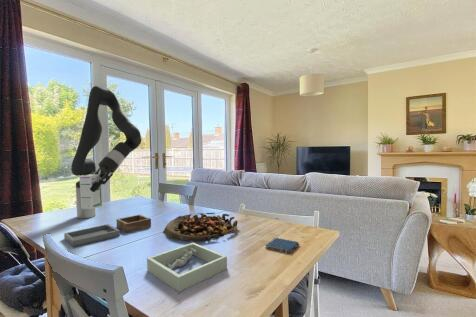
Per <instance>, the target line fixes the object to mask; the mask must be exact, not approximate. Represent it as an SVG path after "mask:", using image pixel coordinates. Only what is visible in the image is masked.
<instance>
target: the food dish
mask: <svg viewBox="0 0 476 317" xmlns="http://www.w3.org/2000/svg"><path fill="white" fill-rule="evenodd" d="M214 214H216V212H206V213H204V212H202V213H199V212H198V213H197V214H191V213H190V214H185V215H179V216H176V217H175V218H173V219H172V220H170V221H169V222H168V223H167V224H166V226H165V227H164V229H163V231H162V234H164V235H165V236H166V237H168V238H169V239H173V240H177V241H185V240H187V241H186V242H189V241H190V242H191V241H193V242H203V241H210V240H212V239H219V238H221V237H223V236H225V235H227V234H230V233H235V232H237V231H238V223H239V222H238V220H234V219H235V218H236V217H234V216H231V217H229V216H230V214H228V213H222V215H219V214H218V215H214ZM198 215H200V216H198ZM207 215H208V216H207ZM211 215H212V216H211ZM227 217H229V218H227ZM233 220H234V221H233ZM232 221H233V223H232Z"/></svg>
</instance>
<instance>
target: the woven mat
mask: <svg viewBox="0 0 476 317" xmlns="http://www.w3.org/2000/svg"><path fill="white" fill-rule="evenodd" d="M297 246H298V247H299V246H300V243H299V241H296V240H293V241H292V240H290V239H286V238H279V237H276V238H273V239H272V240H270V241H268V242H267V244H265V247H264V248H265V249H266V250H269V249H271V251H275V250H277V251H279V253H283V252H285V254H289V253H291V252H292V253H293V252H294V251H295V250H296V249H297V248H298V247H297ZM295 248H296V249H295ZM293 250H294V251H293ZM287 252H288V253H287ZM292 253H291V254H292Z"/></svg>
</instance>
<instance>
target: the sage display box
mask: <svg viewBox="0 0 476 317" xmlns="http://www.w3.org/2000/svg"><path fill="white" fill-rule="evenodd" d="M190 248H193V249H195V250H196V251H197V252H196V253H195V254H194V255H193V256H195V257H196V258H199V259H200V260H201V259H202V260H203V261H205V262H207V263H204V264H202V265H200V266H199V265H198V266H197V267H195V268H193V269H190V270H188V271H185V272H183V273H181V274H179V273H177V272H176V271H174V270H173V269H172V270H171V269H169V268H170V267H168V264H170V265H171V264H173V263H174V262H175V261H174V260H175V259H181V258H182V257H183V256H184V255H185V254H186V251H184V250H182V249H185V250H187V251H189V252H191V251H190V250H191V249H190ZM146 265H147V266H146V269H147V271H148V272H149V273H150V274H152V275H154V276H155V277H156V278H158V279H160V280H161V281H162V282H163V283H165V284H166V285H168V286H170V287H171V288H173V289H174V290H175V291H177V292H178V293H179V292H181V291H183V290H186V289H188V288H190V287H192V286H194V285H197V284H199V283H201V282H202V281H204V280H207V279H209V278H211V277H213V276H215V275H217V274H219V273H222V272H223V271H225V270H227V269H228V257H227V256H226V255H224V254H222V253H219V252H217V251H215V250H212V249H210V248H207V247H205V246H203V245H200V244H197V243H196V242H190V243H187V244H184V245H182V246H178V247H176V248H173V249H169V250H167V251H164V252H161V253H158V254H154V255H152V256H149V257H147V258H146Z"/></svg>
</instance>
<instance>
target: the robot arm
mask: <svg viewBox="0 0 476 317" xmlns="http://www.w3.org/2000/svg"><path fill="white" fill-rule="evenodd" d="M116 96H117V95H116V94H115V92H114V91H113V90H111V89H110V88H107V87H101V86H99V85H98V86H97V85H95V86H93V87H92V88H91V89H90V92H89V95H88V102H87V108H86V109H87V110H86V115H85V119H84V122H83V126H82V129H81V132H80V133H81V134H80V138H79V142H78V146H77V149H76V151H75V154H74V157H73V159H72V163H71V167H70V168H71V173H72V174H73V176H77V177H79V176H83V175H89V174H98V176H97V181H96V182H97V183H96V182H95V183H94V184H93V186H92V187H91V188H90V190H91V191H92V192H95V191H96V190H97V188H98V187H99V186H100V185H101V186H102V185H106V184H107V182H108V181H109V180H111V177H112V176H113V175H114V173H115V172H116V171H117V170H118V169H119V168H120V166H121V165H122V163H123V162H124V160H126V158H127V157H128V156H129V155H130V153H132V152H133V151H134V150H136V149H138V147H139V146H140V145H141V142H142V136H141V135H142V134H141V131H140V130H139V128H138V127H137V126H136V125H135V124H134V123H132V121H131V120H130V119H129V117H128V116H127V115H126V113H125V111H124V110H123V109H122V106H121V104H120V102H119V100H118V98H117V97H116ZM100 106H107V107H108V108H109V109H110V110H111V112H112V113H111V118H112V122H113V123H114V125H115V127H117V129H118V130H119V131H120V132H121V133H123V134H124V136H125V139H126V140H125V141H124V142H123V141H121V142H118V143H117V144H116V145H114V147H113V148H112V149H111V150H110V151H109V152H108V153H107V154H106V155H105V156H104V157H103V158H102V159H101V161H99V163H98V167H99V168H98V169H97V166H96V163H95V161H94V159H92V158H87V157H88V154H89V153H90V152H91V151H92V149H94V147H95V146H96V145H97V144H98V143H99V142H100V140H101V135H102V132H103V126H102V123H101V120H100V118H99V117H100V116H99V108H100ZM75 197H76V198H75V199H76V218H77V219H90V218H93V217H96V214H97V213H96V212H97V211H96V208H94V209H82V208H81V194H80V180H78V181H77V182H76V183H75Z"/></svg>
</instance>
